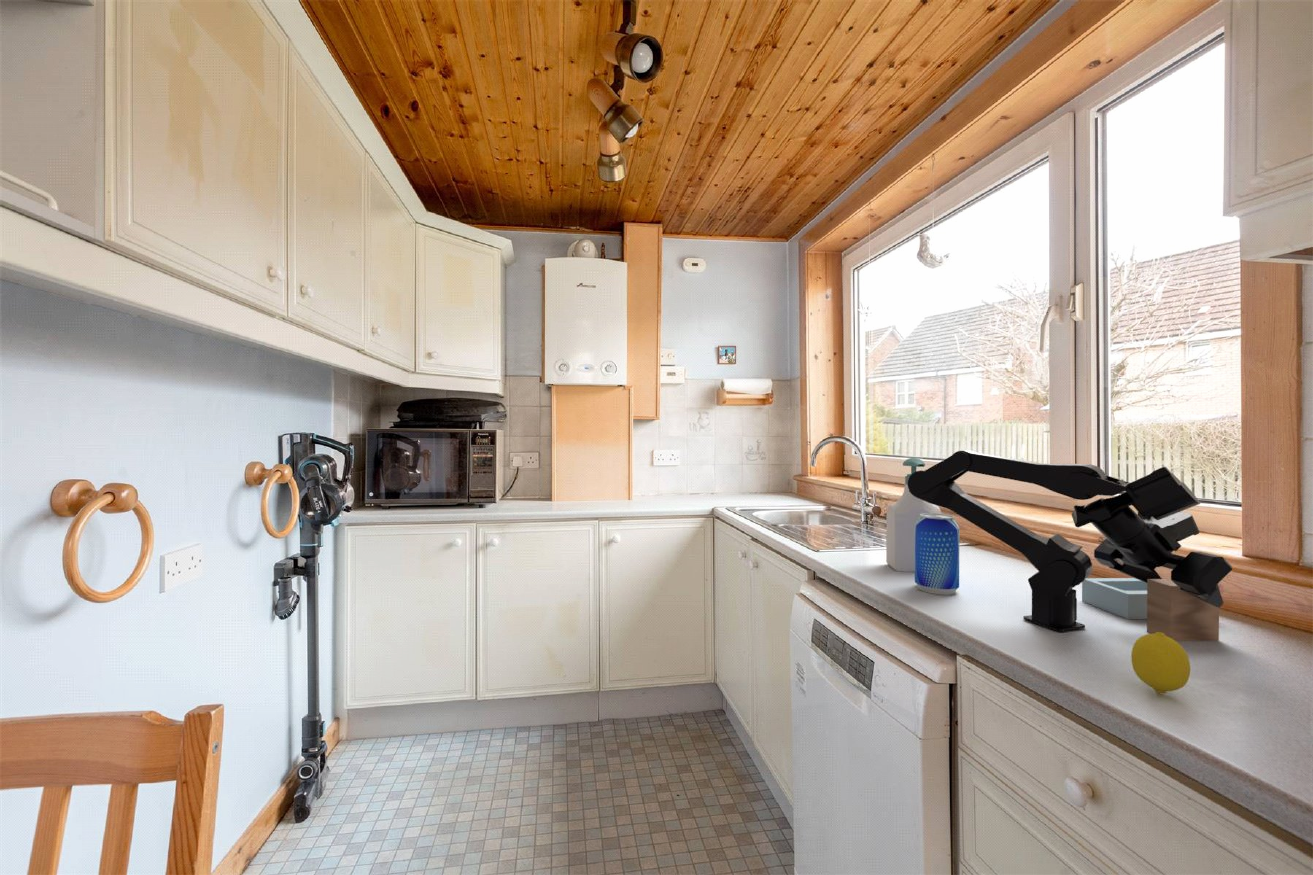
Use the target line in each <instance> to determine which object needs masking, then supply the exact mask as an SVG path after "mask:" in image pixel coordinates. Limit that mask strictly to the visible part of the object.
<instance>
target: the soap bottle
mask: <svg viewBox="0 0 1313 875" xmlns="http://www.w3.org/2000/svg"><path fill="white" fill-rule="evenodd" d="M903 466H904V467H910V473H907V474H906V475H905V476H904V483H905V484H904V489H903V493H902V495H901V496H900V497H899V498H898V499H897V500H896V501H895V502H893V503H892V504H889V505H888V506H887V510H886V519H885V520H886V526H885V527H886V538H885V540H886V545H885V546H886V555H885V556H886V564H887V565H889V567H891V568H892V569H893V570H895V571H896V572H914V573H915V524H916V522H917V521H918V519H919V518H920V514H923V513H938V514H942V510H941V508H940V506H937V505H934V504H931V503H928V502H926V501H923V500H921V499H919V498H916V497H914V496H913V495H912V494H911V493H910V492H909V488H908V479H909V477H910V476H911V474H913V473H914V472H916V471H917V468H924V467H925V466H926V464H925V461H923V460H922V459H920V458H917V457H910V458H906V459H905V460H904V461H903V462H902V467H903Z"/></svg>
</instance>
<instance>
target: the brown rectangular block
mask: <svg viewBox="0 0 1313 875" xmlns="http://www.w3.org/2000/svg"><path fill="white" fill-rule="evenodd" d="M1218 587H1219V588H1220V585H1218ZM1180 588H1181V587H1179V586H1177V585H1176V584H1175V583H1174V582H1173V581H1172V580H1171V578H1162V579H1147V619H1146V633H1147V634H1155V633H1156V632H1162V633H1164V634H1165V635H1166V636H1168V637H1170V638H1172V639H1173V640H1175V641H1176V642H1214V641H1215V642H1217V641H1218V640H1219V639H1220V607H1219V608H1218V607H1215V606H1213V605H1211V604H1209V603H1207V602H1205V601H1203V600H1201V599H1199V598H1197V597H1195V596H1193V595H1190V594H1188V593H1186V592H1184V591H1182V590H1180Z"/></svg>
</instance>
